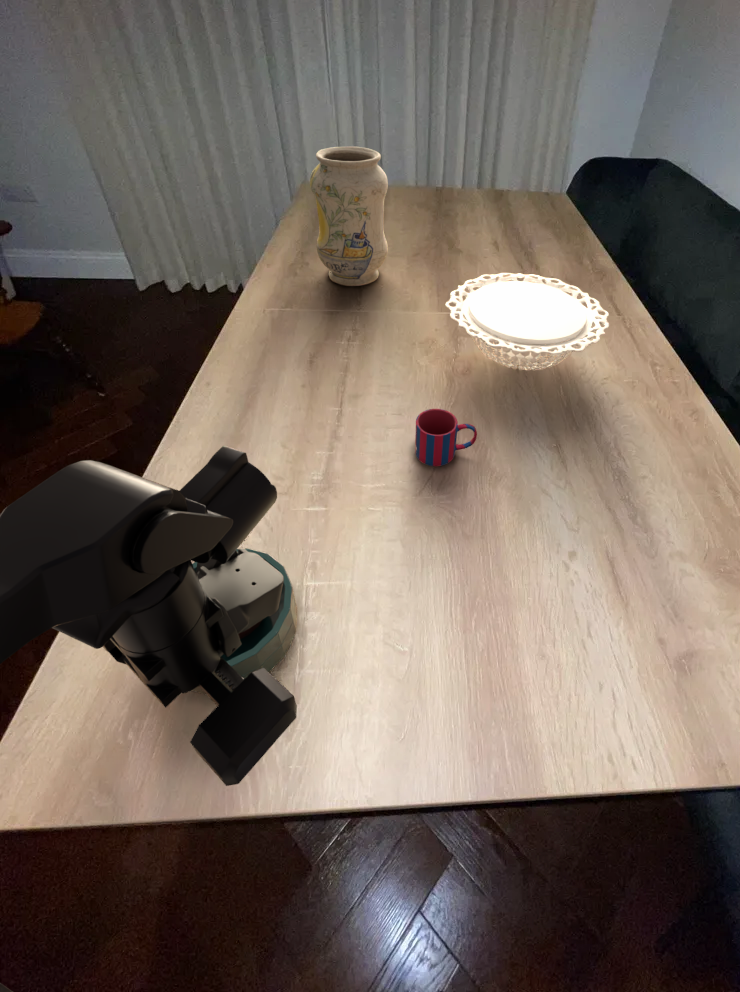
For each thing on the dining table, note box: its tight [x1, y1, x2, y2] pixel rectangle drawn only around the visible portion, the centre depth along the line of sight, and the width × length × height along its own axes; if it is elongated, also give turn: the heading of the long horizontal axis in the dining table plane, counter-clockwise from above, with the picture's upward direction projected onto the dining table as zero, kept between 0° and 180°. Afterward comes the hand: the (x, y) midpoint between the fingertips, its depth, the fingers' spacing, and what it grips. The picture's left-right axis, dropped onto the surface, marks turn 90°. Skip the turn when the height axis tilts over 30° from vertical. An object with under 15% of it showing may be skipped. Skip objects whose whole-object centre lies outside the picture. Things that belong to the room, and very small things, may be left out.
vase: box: [309, 145, 389, 287], centre depth 129 cm, size 18×18×30 cm
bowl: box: [190, 547, 299, 696], centre depth 61 cm, size 15×15×6 cm
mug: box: [414, 408, 478, 467], centre depth 86 cm, size 7×10×7 cm
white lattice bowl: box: [444, 272, 610, 372], centre depth 107 cm, size 32×32×13 cm
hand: (209, 706), depth 46 cm, fingers open, 9 cm apart
